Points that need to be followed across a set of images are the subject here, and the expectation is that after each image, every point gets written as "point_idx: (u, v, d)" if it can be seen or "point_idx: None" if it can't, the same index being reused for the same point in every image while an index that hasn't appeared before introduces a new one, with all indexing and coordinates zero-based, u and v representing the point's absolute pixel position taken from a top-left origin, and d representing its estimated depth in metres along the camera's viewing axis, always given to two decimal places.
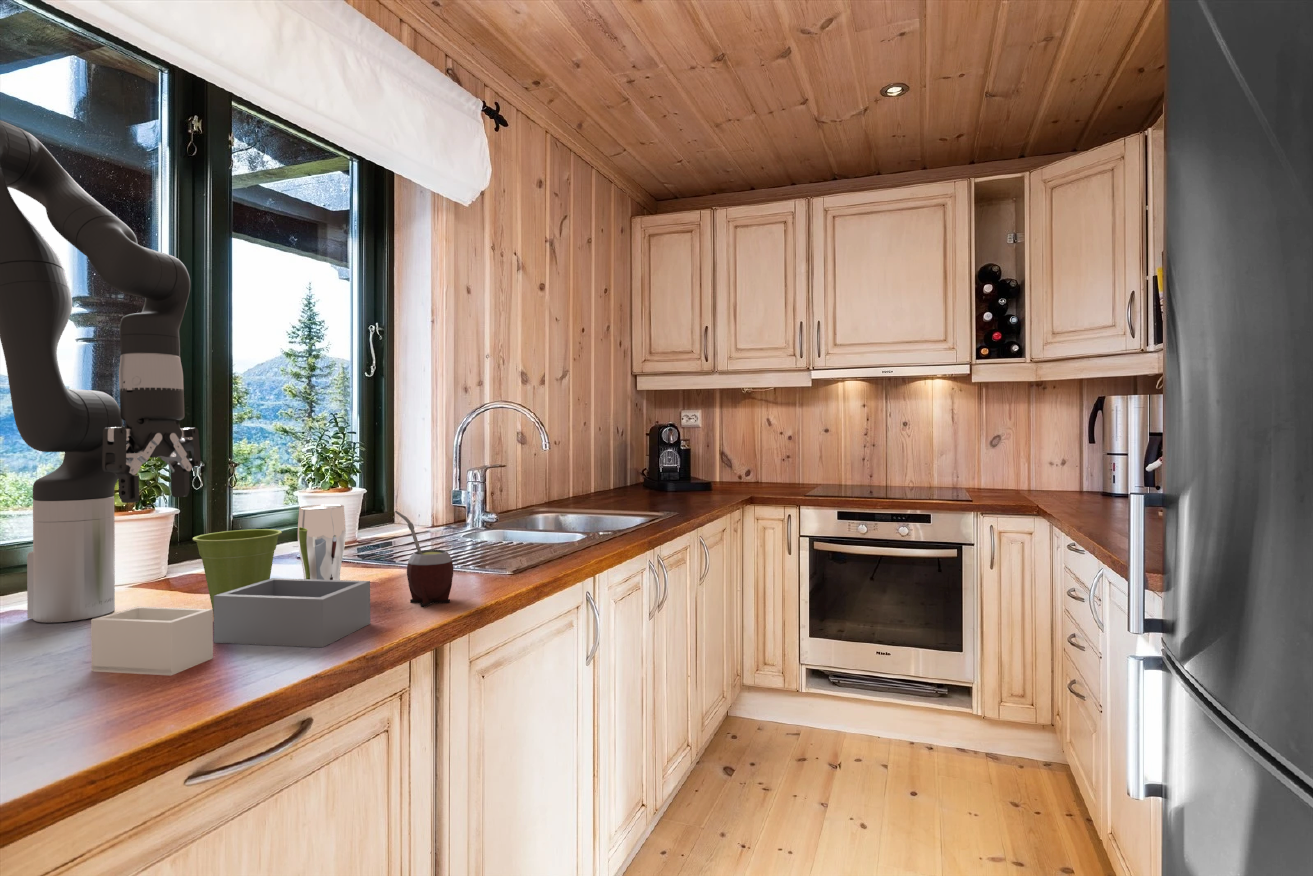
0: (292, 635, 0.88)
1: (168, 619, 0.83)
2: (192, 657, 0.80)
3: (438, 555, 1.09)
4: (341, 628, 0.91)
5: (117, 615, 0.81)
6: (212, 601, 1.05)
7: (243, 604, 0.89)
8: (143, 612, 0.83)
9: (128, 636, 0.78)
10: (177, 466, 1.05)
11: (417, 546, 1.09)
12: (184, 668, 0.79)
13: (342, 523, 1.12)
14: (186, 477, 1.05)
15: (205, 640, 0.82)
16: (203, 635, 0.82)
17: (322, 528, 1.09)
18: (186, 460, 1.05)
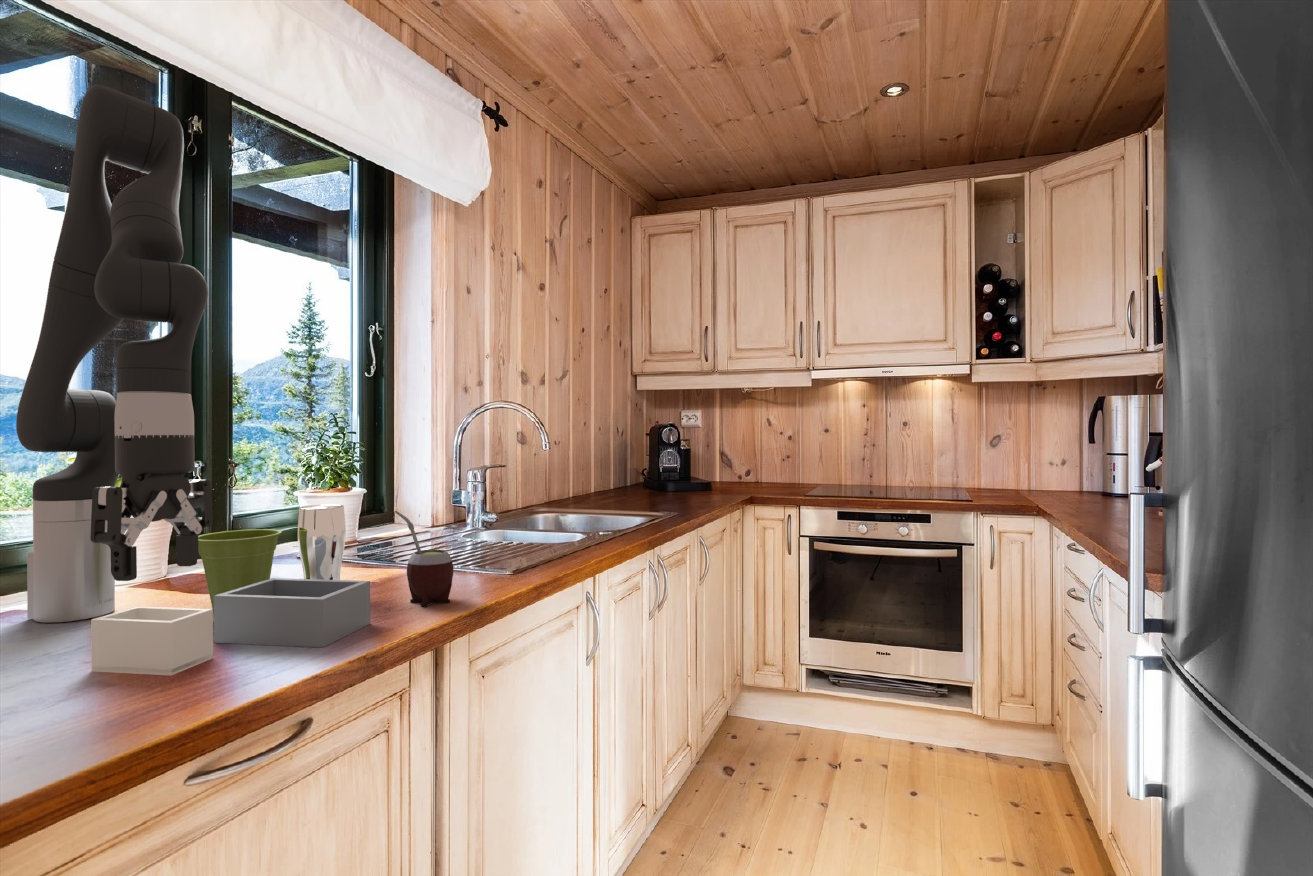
0: (292, 635, 0.88)
1: (168, 619, 0.83)
2: (192, 657, 0.80)
3: (438, 555, 1.09)
4: (341, 628, 0.91)
5: (117, 615, 0.81)
6: (212, 601, 1.05)
7: (243, 604, 0.89)
8: (143, 612, 0.83)
9: (129, 636, 0.78)
10: (184, 528, 0.85)
11: (417, 546, 1.09)
12: (184, 668, 0.79)
13: (342, 523, 1.12)
14: (195, 542, 0.85)
15: (205, 640, 0.82)
16: (203, 635, 0.82)
17: (322, 528, 1.09)
18: (195, 521, 0.85)
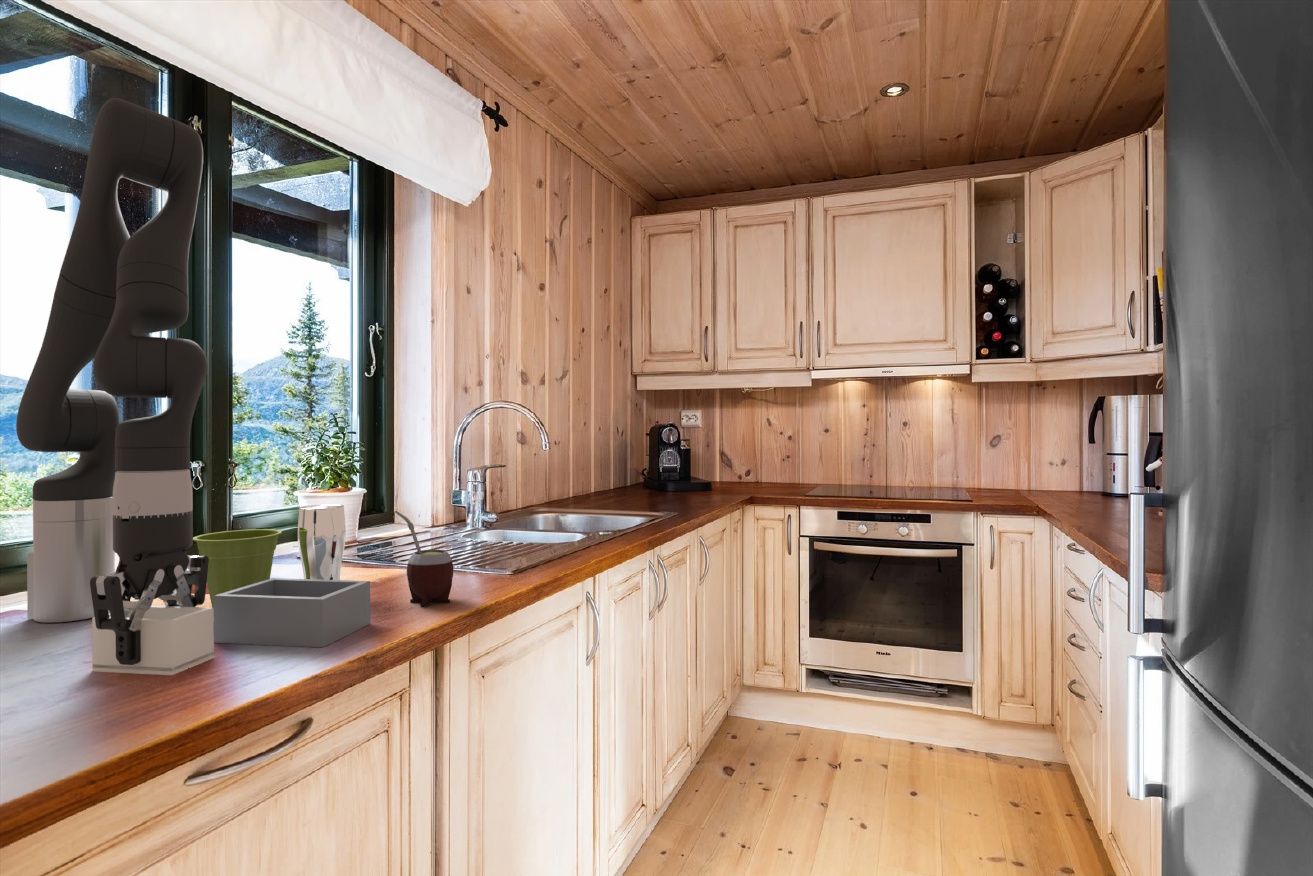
0: (292, 635, 0.88)
1: (169, 618, 0.83)
2: (193, 656, 0.80)
3: (438, 555, 1.09)
4: (341, 628, 0.91)
5: None
6: (212, 601, 1.05)
7: (243, 604, 0.89)
8: None
9: None
10: None
11: (417, 546, 1.09)
12: (185, 667, 0.79)
13: (342, 523, 1.12)
14: None
15: (206, 639, 0.82)
16: (204, 634, 0.82)
17: (322, 528, 1.09)
18: (188, 600, 0.84)
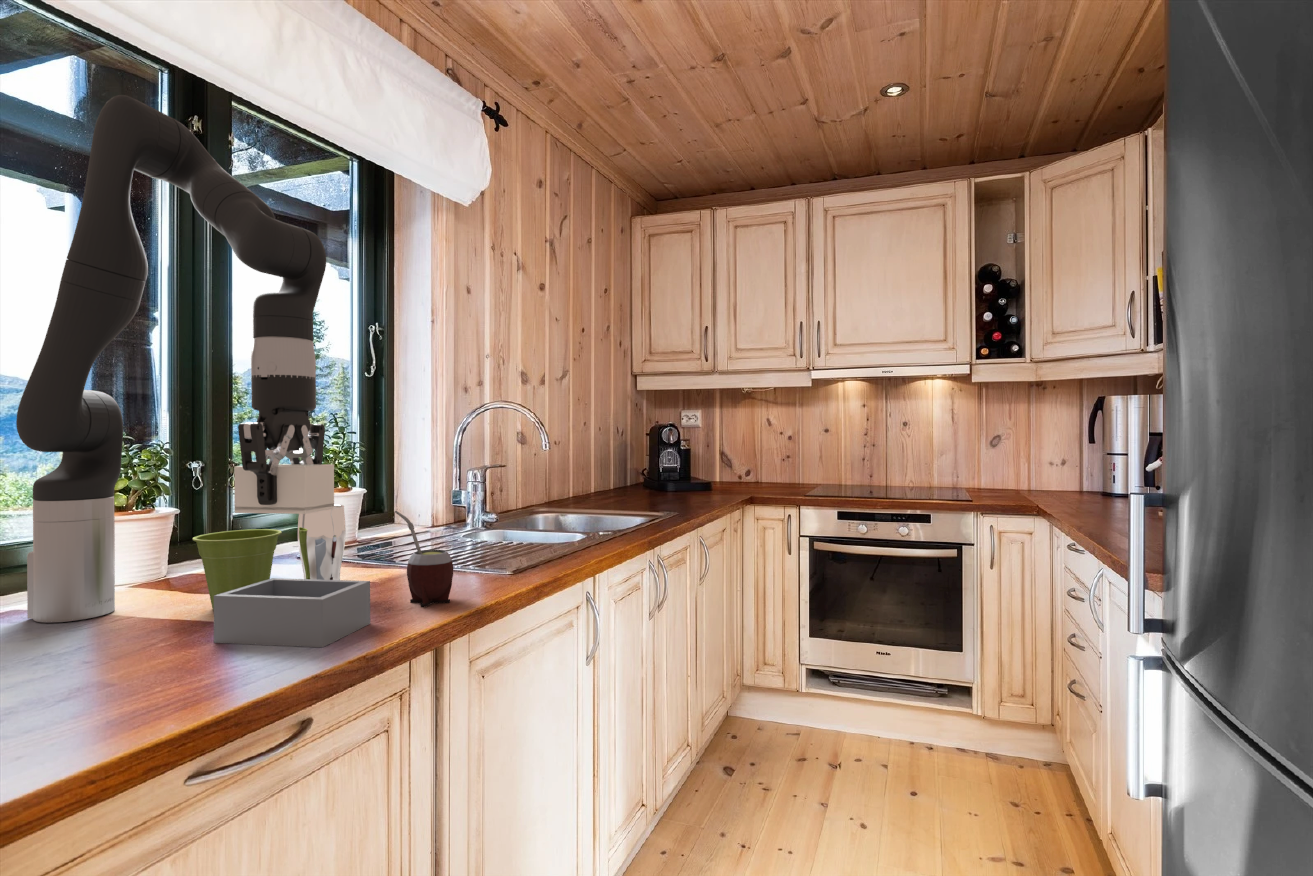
0: (292, 635, 0.88)
1: None
2: (319, 502, 0.91)
3: (438, 555, 1.09)
4: (341, 628, 0.91)
5: None
6: (212, 601, 1.05)
7: (243, 604, 0.89)
8: None
9: None
10: None
11: (417, 546, 1.09)
12: (314, 509, 0.90)
13: (342, 523, 1.12)
14: None
15: (328, 490, 0.93)
16: (327, 485, 0.93)
17: (322, 528, 1.09)
18: (310, 459, 0.95)
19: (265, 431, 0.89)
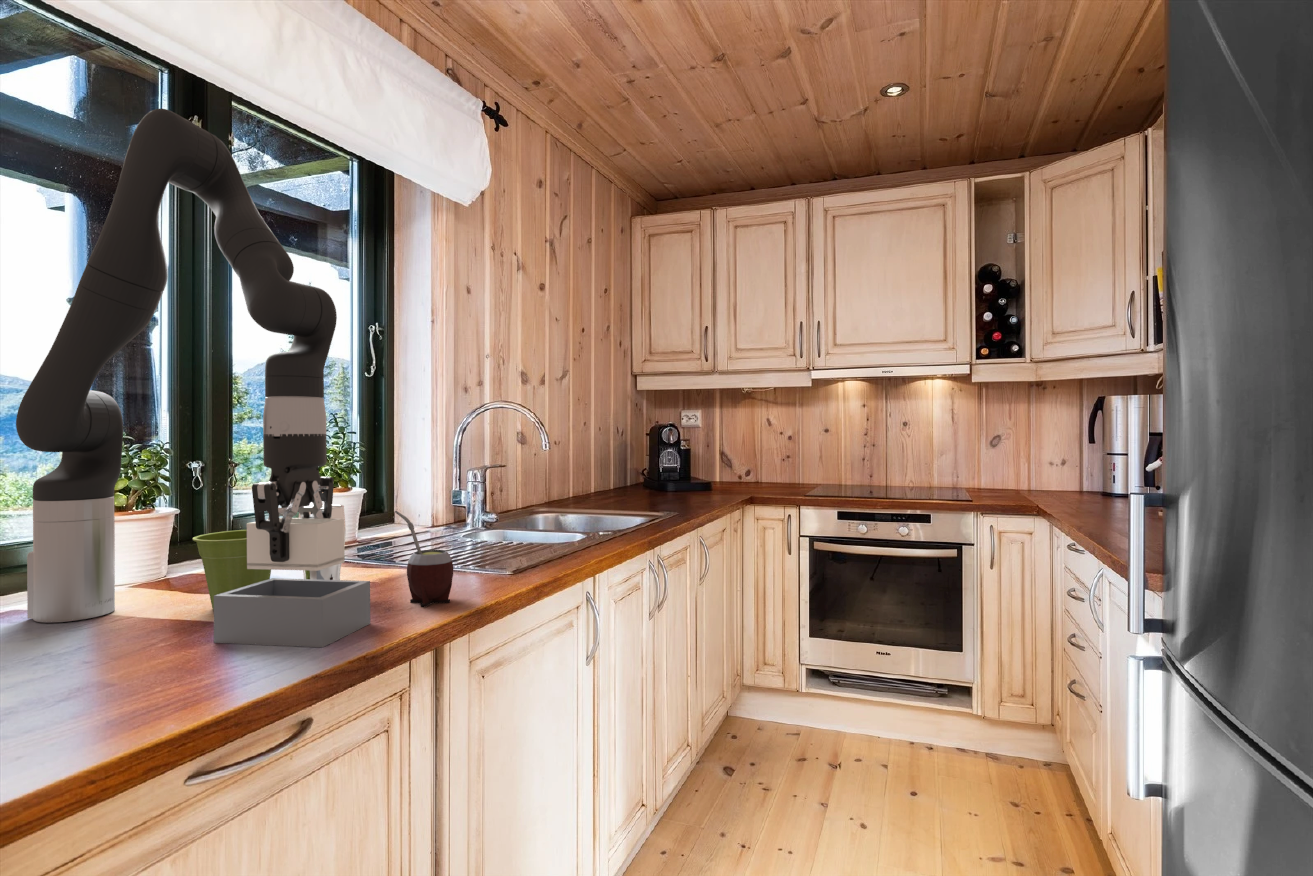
0: (292, 635, 0.88)
1: None
2: (331, 557, 0.93)
3: (438, 555, 1.09)
4: (341, 628, 0.91)
5: None
6: (212, 601, 1.05)
7: (243, 604, 0.89)
8: None
9: None
10: None
11: (417, 546, 1.09)
12: (326, 565, 0.92)
13: None
14: None
15: (339, 544, 0.95)
16: (338, 539, 0.94)
17: None
18: (320, 513, 0.97)
19: (277, 489, 0.91)
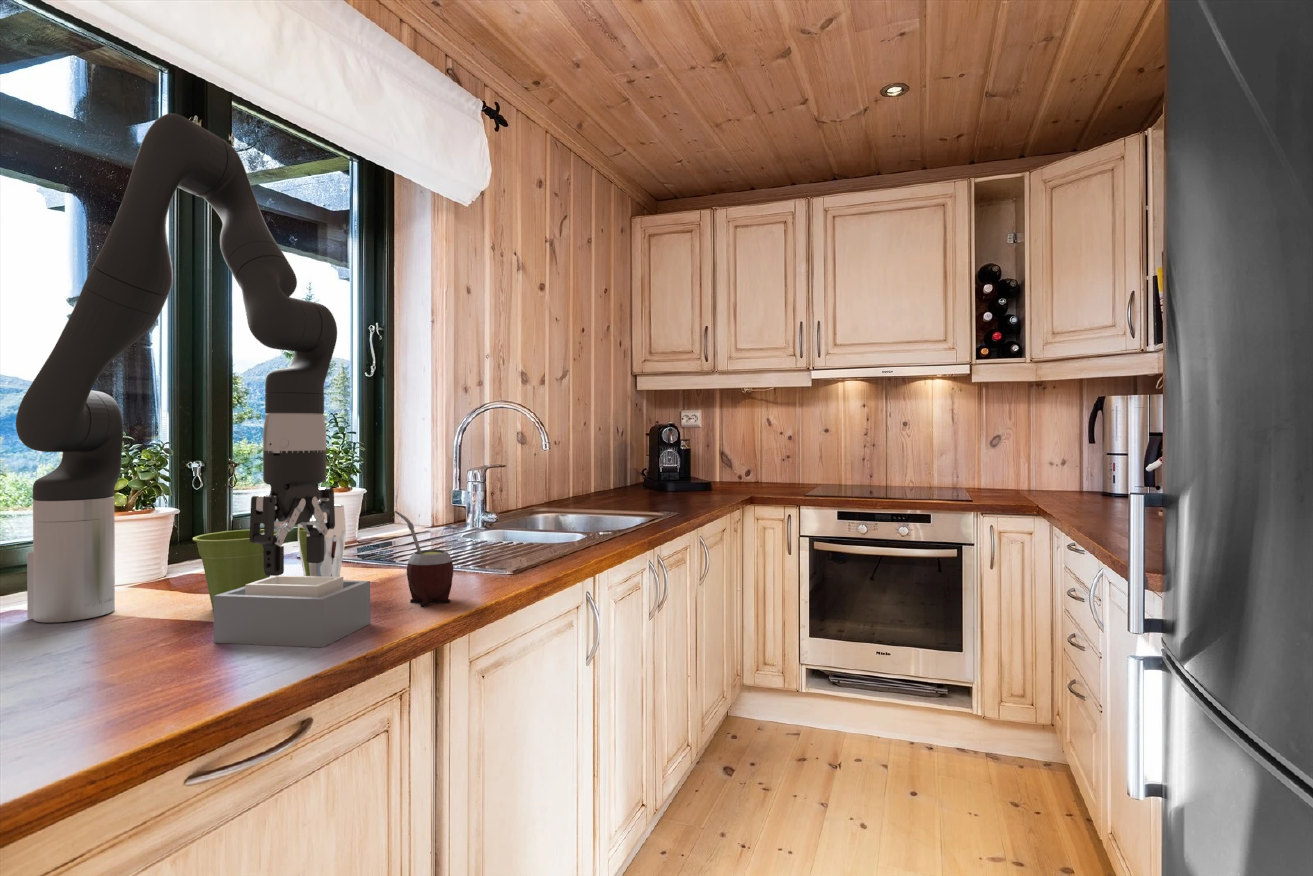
0: (292, 635, 0.88)
1: None
2: None
3: (438, 555, 1.09)
4: (341, 628, 0.91)
5: (263, 581, 0.94)
6: (212, 601, 1.05)
7: (243, 604, 0.89)
8: (281, 580, 0.96)
9: None
10: (313, 530, 0.98)
11: (417, 546, 1.09)
12: None
13: (342, 523, 1.12)
14: (322, 542, 0.98)
15: None
16: None
17: None
18: (323, 524, 0.98)
19: (277, 503, 0.90)
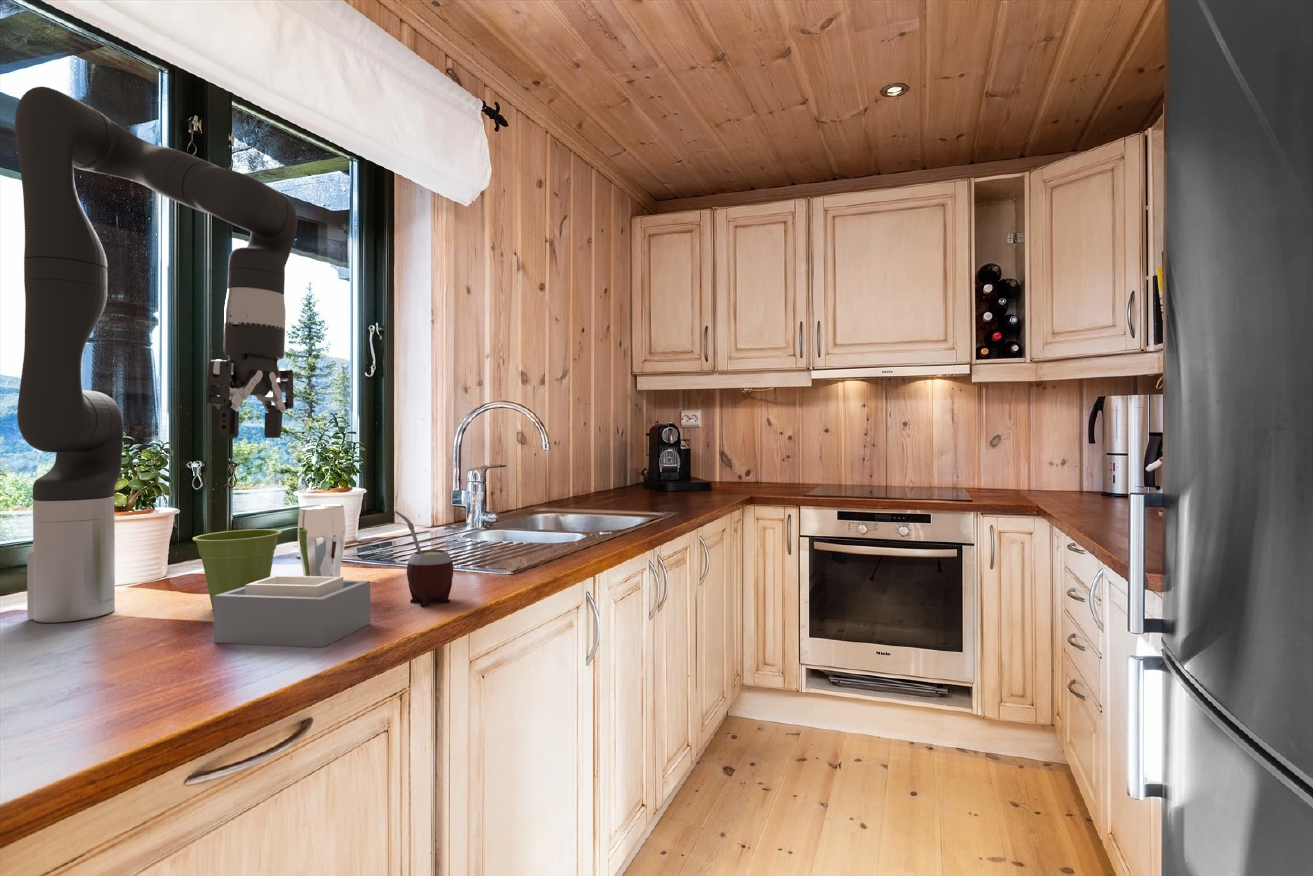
0: (292, 635, 0.88)
1: None
2: None
3: (438, 555, 1.09)
4: (341, 628, 0.91)
5: (263, 581, 0.94)
6: (212, 601, 1.05)
7: (243, 604, 0.89)
8: (281, 580, 0.96)
9: None
10: (271, 406, 1.03)
11: (417, 546, 1.09)
12: None
13: (342, 523, 1.12)
14: (280, 418, 1.03)
15: None
16: None
17: (322, 528, 1.09)
18: (281, 401, 1.03)
19: None
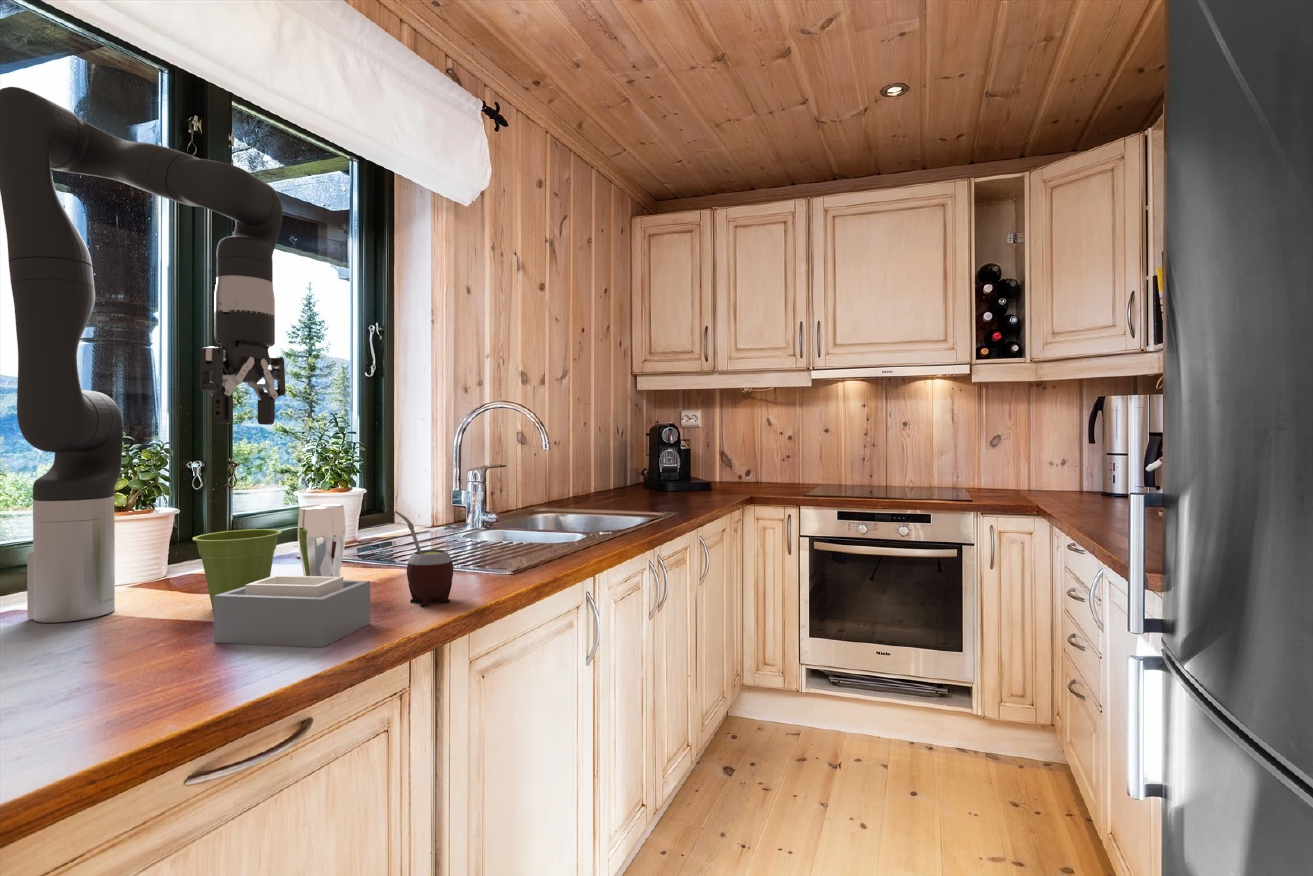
0: (292, 635, 0.88)
1: None
2: None
3: (438, 555, 1.09)
4: (341, 628, 0.91)
5: (263, 581, 0.94)
6: (212, 601, 1.05)
7: (243, 604, 0.89)
8: (281, 580, 0.96)
9: None
10: (264, 394, 1.05)
11: (417, 546, 1.09)
12: None
13: (342, 523, 1.12)
14: (272, 405, 1.05)
15: None
16: None
17: (322, 528, 1.09)
18: (273, 388, 1.05)
19: (227, 359, 0.98)
